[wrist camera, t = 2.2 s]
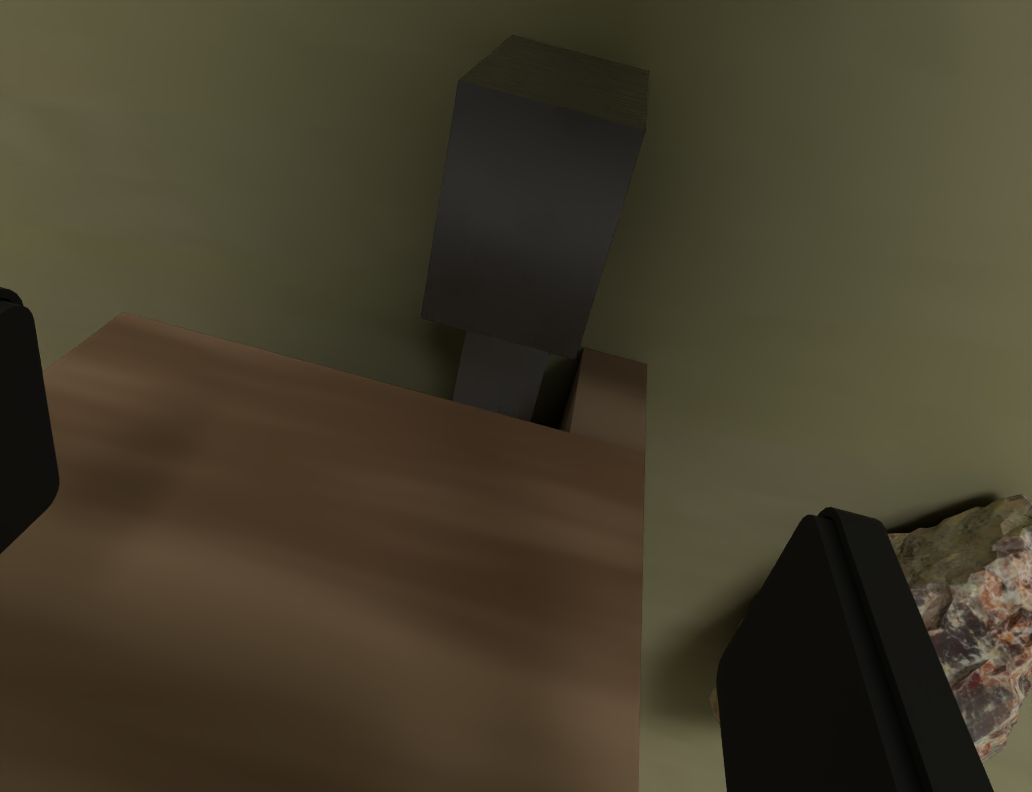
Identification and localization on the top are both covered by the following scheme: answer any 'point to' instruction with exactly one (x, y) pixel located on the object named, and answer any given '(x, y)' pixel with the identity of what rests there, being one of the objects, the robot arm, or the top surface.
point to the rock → (975, 610)
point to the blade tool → (529, 211)
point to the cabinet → (322, 581)
